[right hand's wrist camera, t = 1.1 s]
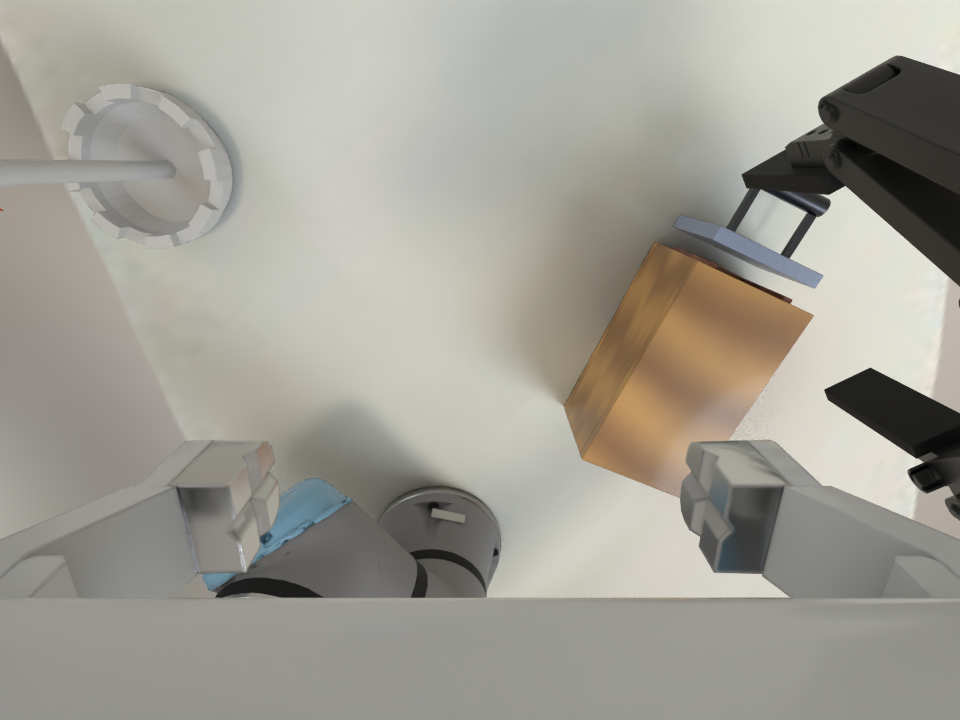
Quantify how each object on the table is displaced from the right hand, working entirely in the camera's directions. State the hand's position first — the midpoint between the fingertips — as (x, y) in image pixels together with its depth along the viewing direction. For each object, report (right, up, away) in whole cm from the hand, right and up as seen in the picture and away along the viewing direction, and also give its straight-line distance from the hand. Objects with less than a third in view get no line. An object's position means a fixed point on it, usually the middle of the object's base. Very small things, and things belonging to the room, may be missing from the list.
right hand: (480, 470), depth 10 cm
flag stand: (-29, +20, +39) cm, 52 cm away
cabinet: (+18, +3, +45) cm, 49 cm away
